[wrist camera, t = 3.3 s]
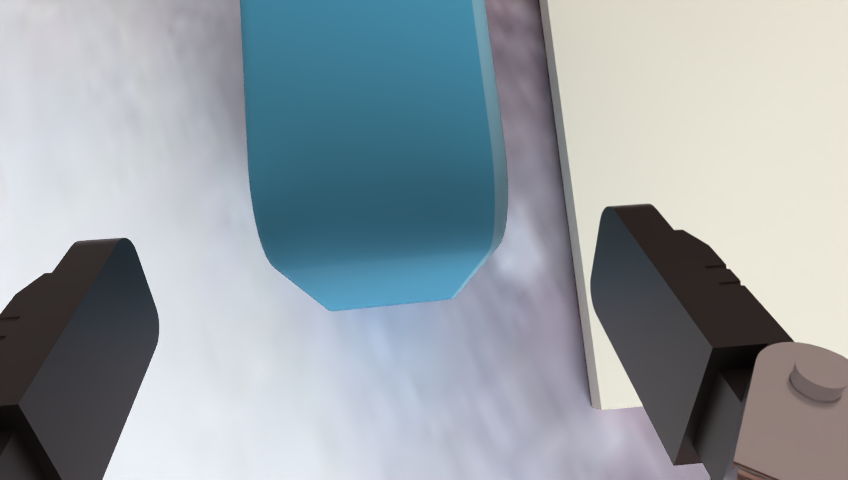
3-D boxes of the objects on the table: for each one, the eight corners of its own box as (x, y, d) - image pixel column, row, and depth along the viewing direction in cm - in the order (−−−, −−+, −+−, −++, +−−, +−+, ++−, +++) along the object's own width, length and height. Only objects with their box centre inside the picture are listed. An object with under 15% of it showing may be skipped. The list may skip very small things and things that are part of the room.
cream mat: (854, -52, 26) (872, -69, 25) (962, 376, 22) (989, 376, 21) (534, -40, 25) (539, -56, 24) (592, 407, 21) (601, 409, 20)
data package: (308, 16, 24) (221, -320, 12) (420, 8, 24) (441, -328, 12) (330, 315, 21) (248, 257, 10) (454, 303, 22) (520, 231, 10)
